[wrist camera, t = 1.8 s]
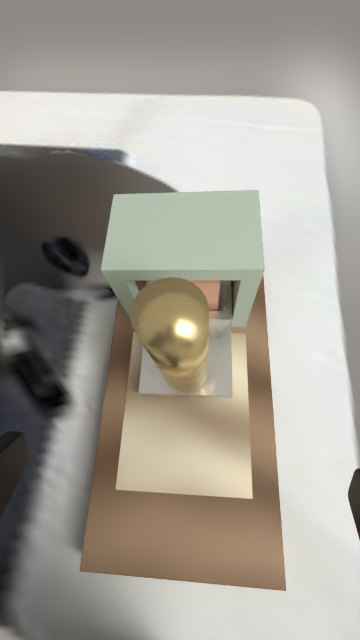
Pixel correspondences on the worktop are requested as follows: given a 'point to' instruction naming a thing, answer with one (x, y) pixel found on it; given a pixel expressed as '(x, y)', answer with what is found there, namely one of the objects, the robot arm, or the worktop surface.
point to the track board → (188, 472)
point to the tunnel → (186, 243)
